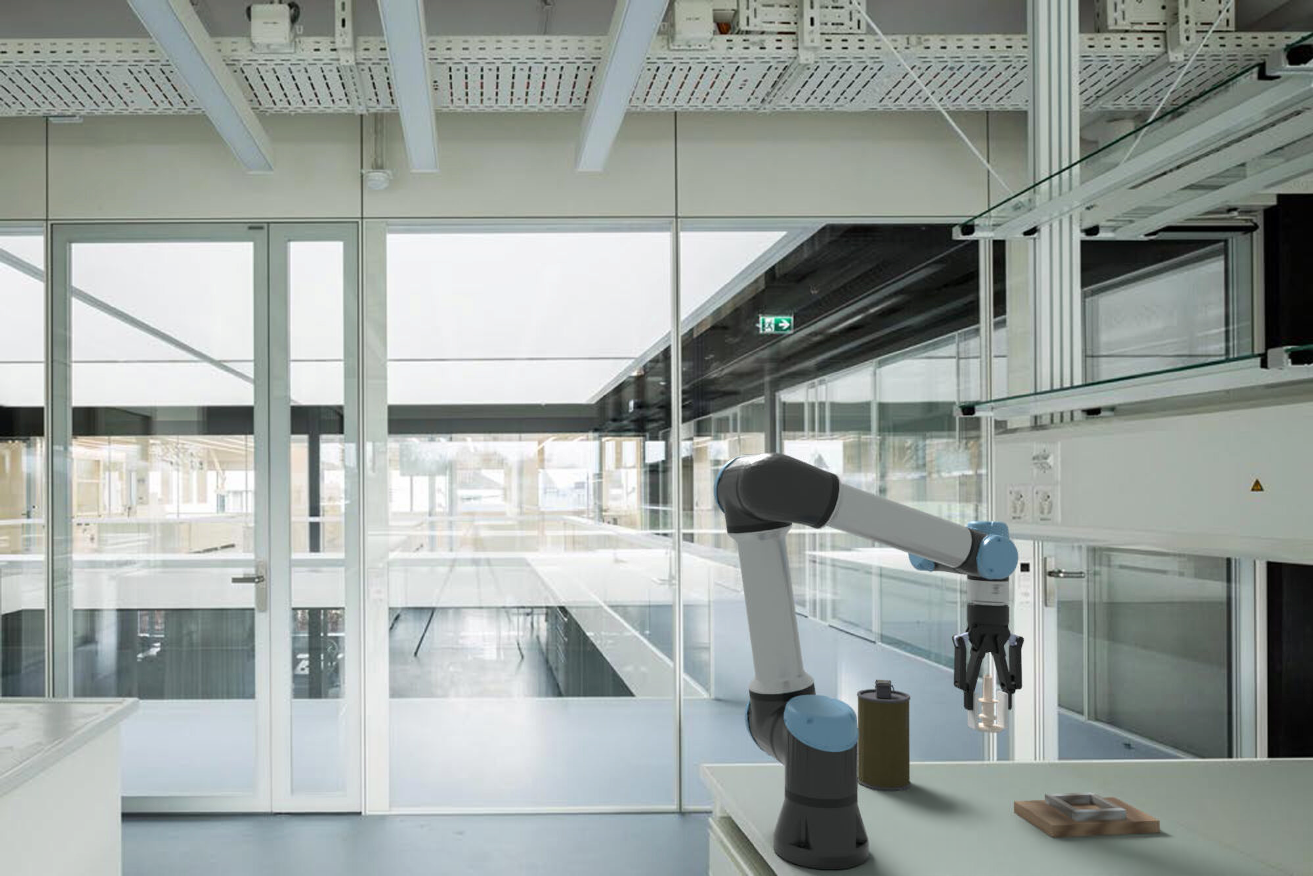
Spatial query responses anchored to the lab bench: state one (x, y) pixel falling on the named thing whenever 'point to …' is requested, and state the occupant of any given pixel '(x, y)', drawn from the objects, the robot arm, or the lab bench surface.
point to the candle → (988, 708)
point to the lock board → (1085, 815)
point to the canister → (883, 738)
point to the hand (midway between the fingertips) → (987, 727)
